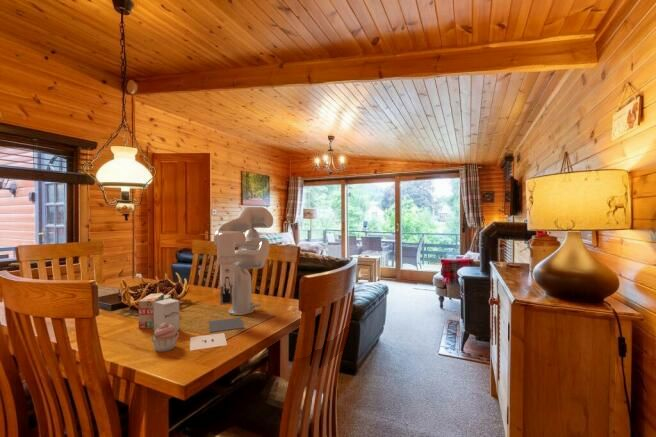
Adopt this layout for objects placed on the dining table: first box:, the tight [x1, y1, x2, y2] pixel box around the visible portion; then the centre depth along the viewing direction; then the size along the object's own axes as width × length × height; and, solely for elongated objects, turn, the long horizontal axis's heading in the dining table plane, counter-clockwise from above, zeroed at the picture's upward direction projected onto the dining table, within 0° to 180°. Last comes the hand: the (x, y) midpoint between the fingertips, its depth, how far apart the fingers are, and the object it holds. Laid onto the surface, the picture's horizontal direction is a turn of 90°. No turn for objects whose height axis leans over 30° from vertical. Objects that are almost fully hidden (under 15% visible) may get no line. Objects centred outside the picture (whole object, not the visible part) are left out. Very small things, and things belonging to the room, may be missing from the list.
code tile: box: [189, 332, 228, 351], centre depth 124 cm, size 13×13×1 cm
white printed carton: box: [137, 293, 172, 329], centre depth 148 cm, size 21×6×12 cm, turn 7°
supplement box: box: [153, 298, 180, 332], centre depth 135 cm, size 7×7×13 cm
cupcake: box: [150, 322, 180, 353], centre depth 117 cm, size 9×9×10 cm
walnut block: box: [219, 283, 232, 306], centre depth 141 cm, size 5×5×8 cm
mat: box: [208, 317, 245, 334], centre depth 142 cm, size 14×14×1 cm
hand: (225, 300), depth 141 cm, fingers closed on walnut block, 5 cm apart
